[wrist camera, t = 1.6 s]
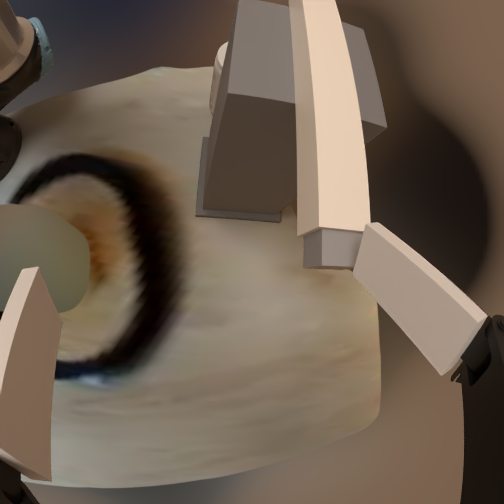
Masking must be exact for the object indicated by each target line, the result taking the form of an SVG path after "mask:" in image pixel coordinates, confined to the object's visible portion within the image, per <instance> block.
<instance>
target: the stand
mask: <svg viewBox="0 0 504 504" xmlns="http://www.w3.org/2000/svg"><path fill="white" fill-rule="evenodd" d="M341 24H342V27H343V31H344V35H345V39H346V43H347V48H348V52H349V56H350V61H351V66H352V71H353V76H354V81H355V86H356V92H357V97H358V103H359V110H360V116H361V123H362V130H363V138H364V145H365V144H367V143H368V142H369V141H370V140H372V139H373V138H374V137H376V136H377V135H378V134H380V133H381V132H382V131H383V130H385V129H386V128H387V124H386V119H385V114H384V109H383V104H382V100H381V95H380V90H379V86H378V82H377V78H376V73H375V69H374V66H373V62H372V58H371V55H370V51H369V47H368V44H367V41H366V38H365V35H364V31H363V29H360V28H358V27H355V26H352V25H349V24H347V23H344V22H341ZM296 198H297V139H296V107H295V84H294V65H293V49H292V34H291V21H290V9H289V7H288V6H284V5H279V4H274V3H269V2H264V1H259V0H238V4H237V8H236V12H235V16H234V20H233V24H232V28H231V32H230V36H229V41H228V45H227V50H226V54H225V59H224V63H223V68H222V73H221V77H220V82H219V87H218V92H217V97H216V103H215V108H214V113H213V119H212V124H211V130H210V136H209V137H203V142H202V151H201V161H200V171H199V181H198V192H197V204H196V216H198V217H212V218H226V219H239V220H252V221H264V222H275V223H279V222H281V210H282V209H283V208H285V207H286V206H287V205H288V204H290V203H291V202H292V201H293V200H294V199H296Z"/></svg>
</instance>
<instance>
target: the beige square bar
mask: <svg viewBox="0 0 504 504" xmlns="http://www.w3.org/2000/svg"><path fill="white" fill-rule="evenodd" d="M289 9H290V21H291V34H292V49H293V65H294V84H295V107H296V139H297V236H298V237H304V263H303V268H310V269H334V270H344V269H353V268H354V267H355V263H356V260H357V256H358V252H359V248H360V245H361V241H362V237H363V233H364V229H365V225H366V224H368V223H370V204H369V191H368V190H369V189H368V176H367V165H366V156H365V146H364V138H363V130H362V123H361V116H360V110H359V103H358V97H357V92H356V86H355V81H354V76H353V71H352V66H351V61H350V56H349V52H348V48H347V43H346V39H345V35H344V31H343V27H342V24H341V20H340V16H339V13H338V9H337V6H336V3H335V0H289Z"/></svg>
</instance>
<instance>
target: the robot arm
mask: <svg viewBox="0 0 504 504" xmlns="http://www.w3.org/2000/svg"><path fill="white" fill-rule="evenodd" d="M53 63H54V60H53V55H52V51H51V48H50V46H49V41H48V38H47V36H46V33H45V30H44V28H43V26H42V24H41V22H40V21H39V19H38V18H31V19H28V20H27V19H24V18H21V17H15V15H14V13H13V11H12V9H11V7H10V5H9V3H8V1H7V0H0V110H2V109H3V108H4V107H5V106H6V105H7V104H9V103H10V102H11V101H12V100H13V99H15V98H16V97H17V96H18V95H19V94H21V93H22V92H23V91H24V90H26V89H27V88H28V87H30V86H31V85H32V84H34V83H35V82H38V81H39V80H40V79H41V78H42V77H43V76H44V75H45V74H47V73H48V72H49V71H50V70H51V69H52V67H53ZM21 140H22V135H21V130H20V127H19V126H18V125H17V123H16V122H15V121H14V120H13V119H11V118H10V117H7V116H4V115H1V114H0V180H1V179H2V178H3V177H4V176H5V175H6V174H7V173H8V172H9V170H10V169H11V167H12V166H13V164H14V162H15V160H16V158H17V156H18V153H19V150H20V146H21ZM352 275H353V276H354V277H355V278H356V279H357V281H358V282H359V283H360V284H361V285H362V286H363V287H364V288H365V289H366V290H367V291H368V292H369V293H370V294H371V296H372V297H373V298H374V299H375V300H376V301H377V302H378V303H379V304H380V305H381V307H383V309H384V310H385V311H386V312H387V313H388V314H389V315H390V316H391V318H392V319H393V320H394V321H395V322H396V323H397V324H398V325H399V327H400V328H401V329H402V330H403V331H404V332H405V334H406V335H407V336H408V337H409V338H410V339H411V340H412V342H413V343H414V344H415V345H416V346H417V347H418V349H419V350H420V351H421V352H422V353H423V355H424V356H425V357H426V358H427V359H428V360H429V362H430V363H431V364H432V365H433V367H434V368H435V369H436V370H437V371H438V373H439V374H440V375H443V374H445V373H446V372H448V371H449V370H450V369H452V368H453V367H454V365H455V364H456V363H457V361H458V360H459V359H460V358H461V359H462V360H463V362H462V363H461V364H460V366H459V367H458V368H457V370H456V371H455V372H454V373H453V375H452V376H451V381H454V379H455V378H456V377H457V376H458V375H459V374H460V376H459V377H458V378H457V380H456V382H459V383H461V384H462V396H463V409H464V468H463V469H464V470H463V483H462V493H461V502H460V504H504V316H502V315H495V316H493V318H491V317H490V316H488V315H487V314H486V313H485V312H484V311H483V310H482V309H481V308H480V307H479V306H478V305H477V304H476V303H475V302H474V301H473V300H472V299H471V298H470V297H468V296H467V295H465V293H464V292H463V291H462V290H461V289H458V286H456V285H455V284H454V283H453V282H452V281H451V280H450V279H448V278H446V277H445V276H444V275H443V274H442V273H441V272H439V271H438V270H437V269H436V268H435V267H434V266H432V265H431V264H430V263H429V262H427V261H426V260H425V259H424V258H423V257H422V256H420V255H419V254H418V253H417V252H416V251H414V250H413V249H412V248H410V247H409V246H408V245H407V244H406V243H404V242H403V241H402V240H401V239H399V238H398V237H397V236H395V235H394V234H393V233H391V232H390V231H389V230H387V229H386V228H385V227H384V226H382V225H381V224H380V223H378V222H377V223H368V224H366V225H365V229H364V233H363V237H362V241H361V245H360V248H359V252H358V256H357V260H356V263H355V267H354V270H353V274H352ZM61 328H62V321H61V319H60V316H59V314H58V312H57V310H56V308H55V305H54V303H53V301H52V298H51V296H50V294H49V291H48V289H47V286H46V284H45V281H44V279H43V276H42V273H41V271H40V268H39V267H33V268H26V269H22V271H21V273H20V275H19V277H18V280H17V282H16V284H15V286H14V289H13V291H12V293H11V296H10V298H9V300H8V303H7V306H6V308H5V310H4V313H3V316H2V318H1V321H0V504H40V503H39V502H38V501H37V500H36V498H35V497H34V496H33V494H32V493H31V492H30V490H29V489H28V487H27V486H26V485H25V484H24V483H23V482H22V481H21V473H22V474H23V475H25V476H27V477H28V478H30V479H33V480H42V481H51V482H52V476H51V410H52V395H53V384H54V375H55V366H56V359H57V352H58V345H59V339H60V333H61Z"/></svg>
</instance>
